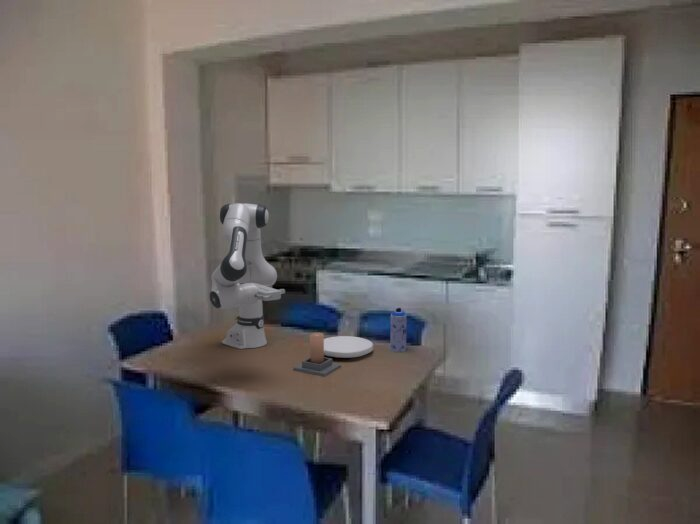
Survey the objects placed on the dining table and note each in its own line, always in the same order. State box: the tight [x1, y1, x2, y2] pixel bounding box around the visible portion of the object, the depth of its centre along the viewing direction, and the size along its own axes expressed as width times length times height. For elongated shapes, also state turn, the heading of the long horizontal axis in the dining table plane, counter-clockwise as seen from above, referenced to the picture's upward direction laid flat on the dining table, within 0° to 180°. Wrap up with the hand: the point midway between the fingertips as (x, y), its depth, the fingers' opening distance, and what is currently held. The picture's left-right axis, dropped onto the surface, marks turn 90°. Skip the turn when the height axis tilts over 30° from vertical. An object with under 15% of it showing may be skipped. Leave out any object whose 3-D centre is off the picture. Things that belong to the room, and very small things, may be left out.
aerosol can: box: [389, 307, 407, 353], centre depth 279 cm, size 8×8×20 cm
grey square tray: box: [292, 356, 342, 377], centre depth 255 cm, size 16×13×4 cm
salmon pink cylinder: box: [309, 331, 325, 364], centre depth 254 cm, size 6×6×14 cm
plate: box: [324, 335, 374, 359], centre depth 277 cm, size 28×6×27 cm
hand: (277, 289), depth 251 cm, fingers open, 8 cm apart
